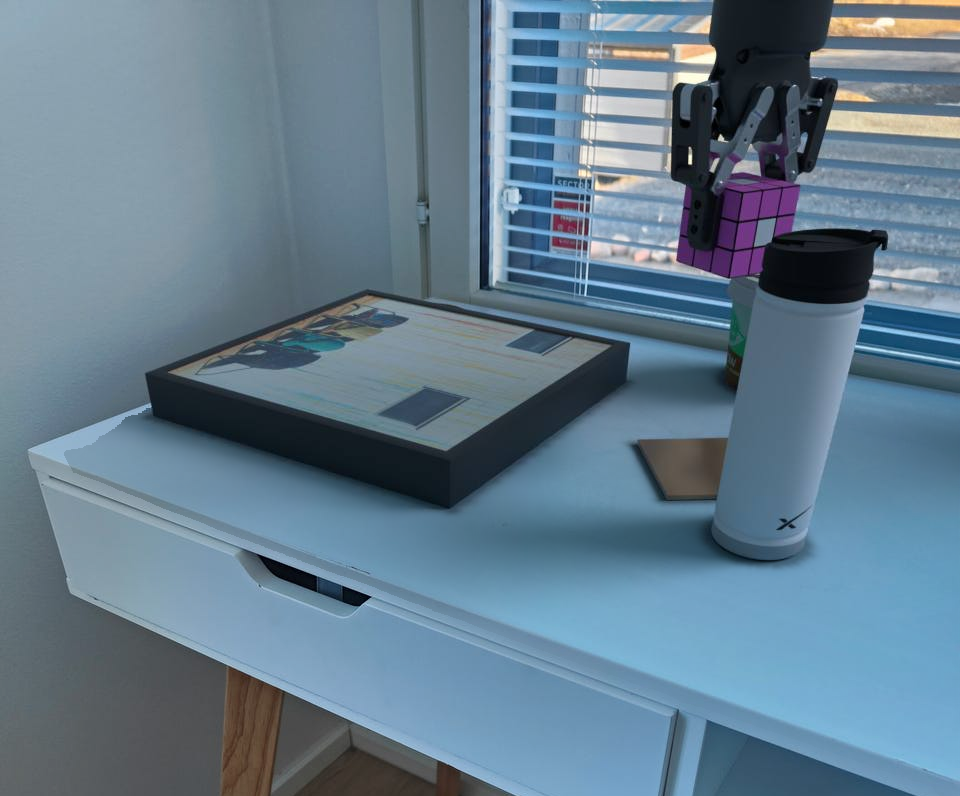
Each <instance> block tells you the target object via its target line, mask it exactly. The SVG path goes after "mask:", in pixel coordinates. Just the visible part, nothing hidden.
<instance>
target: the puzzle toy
mask: <svg viewBox="0 0 960 796" xmlns="http://www.w3.org/2000/svg"><path fill="white" fill-rule="evenodd" d="M684 188H685V189H684V196H683V203H682V213H681V220H680V227H679V236H678V243H677V250H676V259H675V261H676V262H677V263H680V264H682V265H685V266H688V267H692V268H695V269H698V270H700V271H704V272H707V273H710V274H712V275H716V276H719V277H722V278H725V279H726V280H727V279H728V280H731V279H732V278H737V277H743V276H747V275H754V274H760V272H761V271H762V270H763V269H762V260H763V255H764V250H765V245H766V244H767V243H769V242H771V241H772V238H773V237H775V236H777V235H779V234H783V233H788V232H793V227H794V222H795V218H796V217H795V216H796V213H797V206H798V203H799V202H798V201H799V196H800V193H801V192H800V191H801V185H800V184H799V183H795V182H794V183H790V182H786V181H779V180H777V179H772V178H768V177H763V176H761V175H758V174H754V173H750V172H744V171H742V172H732V173H731V175H730V178H729V180H728V182H727V185H726V187H725V189H724V191H723V192H722V193H721V194H722V195H725V198H724V204H723V211H722V217H721V224H720V230H719V237H718V243H717V247H716V249H715V250H712V251H707V252H704V251H701V250H697V249H694V248H691V247H690V246H689V243H688V240H687V233H686V232H687V225H688V218H689V210H690V203H691V190H690V188H689V187H688V186H686V185H685V187H684Z"/></svg>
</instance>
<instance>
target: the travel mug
mask: <svg viewBox="0 0 960 796" xmlns="http://www.w3.org/2000/svg"><path fill="white" fill-rule="evenodd" d="M888 244H889V234H888V231H887V230H883V229H871V230H870V231H869V230H865V229H858V228H845V227H843V228H841V227H840V228H839V227H829V228H828V227H827V228H826V227H825V228H824V227H823V228H811V229H810V228H809V229H800V230H792V232H788V233H783V234H779V235H777V236H775V237H773V238H772V241H771V242H769V243H767V244H766V245H765V250H764V255H763V260H762V269H763V270H762V271H761V272H760V276H759V281H758V283H757V287H756V294H757V295H756V296H755V298H754V303H753V308H752V314H751V319H750V324H749V330H748V335H747V341H746V346H745V351H744V357H743V362H742V367H741V373H740V378H739V383H738V389H737V390H736V395H735V401H734V406H733V411H732V416H731V422H730V427H729V432H728V437H727V438H728V442H727V448H726V453H725V458H724V464H723V469H722V474H721V480H720V485H719V491H718V496H717V499H716V500H715V501H716V502H715V508H714V513H713V516H712V517H713V518H712V523H711V530H710V531H711V535H712V537H713V539H714V540H715V542H716V543H717V544H718V545H719V546H720V547H722V548H724V550H726V551H728V552H730V553H732V554H735V555H738V556H740V557H744V558H746V559H752V560H759V561H777V560H783V559H786V558H787V559H788V558H790V557H793V556H795V555H797V554H799V553H800V552H801V550H803V549H804V546H805V543H806V540H807V535H808V532H809V526H810V523H811V520H812V517H813V511H814V508H815V504H816V500H817V496H818V493H819V489H820V485H821V482H822V476H823V473H824V469H825V466H826V461H827V457H828V454H829V449H830V445H831V442H832V438H833V435H834V430H835V426H836V423H837V420H838V419H837V418H838V415H839V412H840V407H841V403H842V398H843V396H844V391H845V388H846V384H847V380H848V376H849V372H850V367H851V363H852V360H853V356H854V353H855V349H856V344H857V340H858V336H859V332H860V330H861V329H860V328H861V325H862V321H863V318H864V313H865V307H864V306H865V305H866V304H867V301H868V297H869V290H870V286H871V283H870V280H871V279H872V278H873V275H874V274H873V273H874V269H875V262H874V261H875V252H876V251H877V249H878V248H880V246H881V251H887V249H888Z"/></svg>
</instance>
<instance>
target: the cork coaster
mask: <svg viewBox="0 0 960 796" xmlns="http://www.w3.org/2000/svg"><path fill="white" fill-rule="evenodd" d="M727 442H728V437H701V438H700V437H698V438H650V439H649V438H647V439H637V440H636V445H637V446H638V449H639V450H640V453H641V455H642V457H643V458H644V460H645V462H646V464H647V465H648V467H649V470H650V471H651V473H652V475H653V477H654V479H655V480H656V483H657V484H658V486H659V488H660V490H661V493H662V494H663V496H664V497H665V500H666V501H687V500H690V501H691V500H717V496H718V491H719V485H720V480H721V474H722V469H723V464H724V458H725V453H726V448H727Z"/></svg>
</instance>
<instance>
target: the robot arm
mask: <svg viewBox="0 0 960 796" xmlns="http://www.w3.org/2000/svg"><path fill="white" fill-rule="evenodd" d="M834 3H835V0H713V1H712V9H711V16H710V24H709V32H708V42H709V44H710V46H711V47H712V48H714V51H715V59H714V62H713V66H712V68H711V71H710V73H709V75H708V77H707V80H704V81H701V82H697V83H689V82H683V81H682V82H678V83H676V84H675V86H674V88H673V89H672V96H671V135H670V136H671V138H670V141H671V144H670V178H671V179H670V180H672V181H673V182H675V183H679V184H682V185H684V186H685V187H686V186H688V187H689V188H690V190H691V203H690V210H689V218H688V225H687V232H686V233H687V240H688V243H689V246H690V247H691V248H694V249H697V250H701V251H704V252H707V251H712V250H715V249H716V247H717V243H718V237H719V230H720V224H721V217H722V211H723V204H724V198H725V195H722V194H721V193H722V192H723V191H724V189H725V187H726V185H727V182H728V180H729V178H730V175H731V173H733V171H734V168H735V167H736V165H737V164H739V163H740V162H742V161H744V159H745V157H746V156H747V155H746V154H747V153H748V150H749V148H750V146H752V148H753V150H754V151H755V152H756V153H757V155H758V162H759V172H760V176H763V177H768V178H772V179H777V180H779V181H786V182H790V183H795V182H796V181H797V179H798V176H800V175H801V174H803V173H805V174H810V173H811V172H813V171H814V170H815V168H816V165H817V161H818V157H819V155H820V151H821V148H822V144H823V141H824V137H825V134H826V131H827V127H828V123H829V121H830V116H831V112H832V110H833V106H834V102H835V99H836V96H837V93H838V88H839V80H838V79H837V78H836V77H828V76H823V75H812V73H811V62H810V61H811V54H812V53H815V52H818V51H820V50H822V49H823V47H825V45H826V43H827V40H828V34H829V29H830V23H831V19H832V14H833V9H834ZM805 133H806V135H807V136H806V137H807V138H806V140H805V145H804V148H803V151H802V152H800V151H798V149H799V148H800V146H801V144H802V139H801V138H802V135H803V134H805ZM720 137H722V138H723V141H722V140H719V138H720ZM690 150H691V163H689V162H690V161H689V159H690ZM777 156H778V158H777ZM717 159H718V162H717V163H716V165H715V168H714V170H713V171H711V169H712V166H713V164H714V162H715V161H716V160H717Z"/></svg>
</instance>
